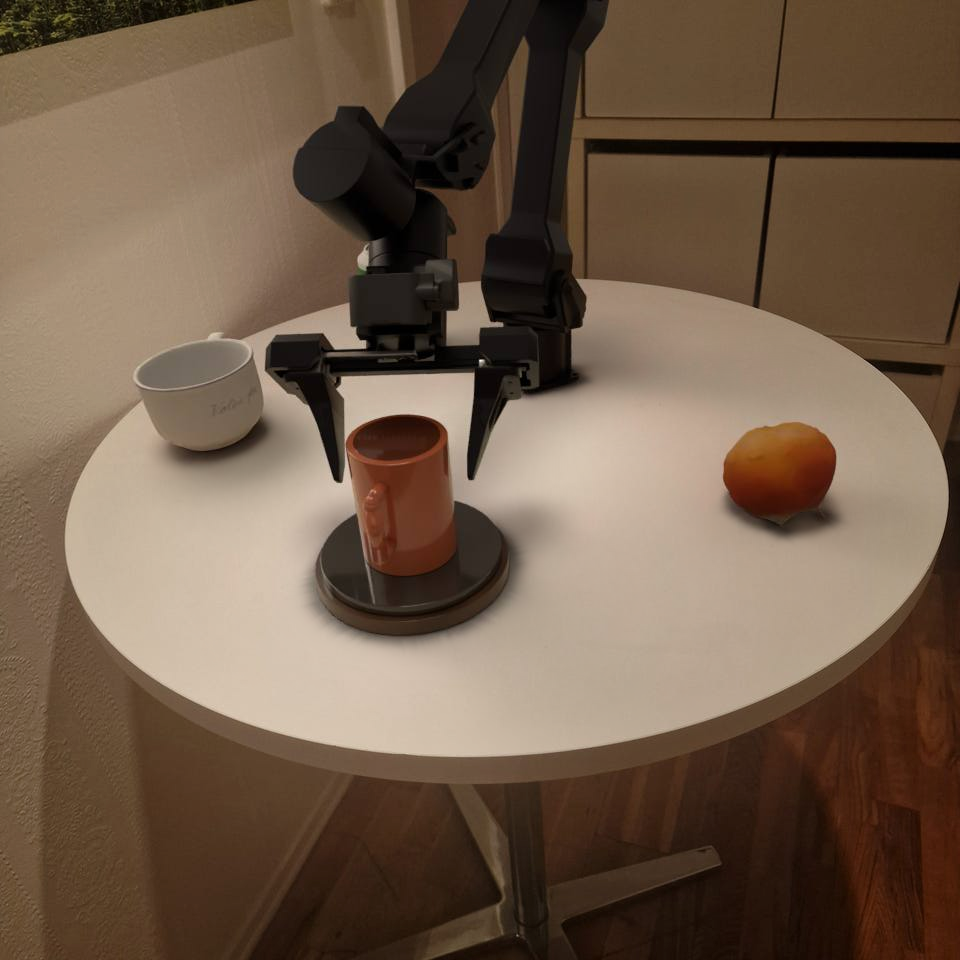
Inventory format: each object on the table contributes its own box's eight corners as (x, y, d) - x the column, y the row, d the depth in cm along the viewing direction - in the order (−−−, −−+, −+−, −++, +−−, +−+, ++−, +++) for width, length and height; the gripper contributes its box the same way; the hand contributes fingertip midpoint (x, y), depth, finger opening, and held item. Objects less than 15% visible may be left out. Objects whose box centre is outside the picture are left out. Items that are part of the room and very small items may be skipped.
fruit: (794, 543, 58) (763, 434, 58) (722, 540, 66) (695, 443, 65) (876, 508, 61) (847, 404, 61) (798, 509, 69) (773, 416, 68)
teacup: (240, 467, 75) (220, 387, 70) (132, 461, 77) (106, 382, 72) (299, 397, 86) (285, 324, 82) (203, 393, 88) (185, 322, 84)
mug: (362, 497, 67) (344, 387, 62) (519, 513, 64) (514, 399, 59) (290, 602, 57) (262, 480, 51) (474, 628, 53) (463, 501, 48)
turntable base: (463, 496, 69) (462, 484, 68) (543, 594, 58) (542, 580, 57) (297, 546, 64) (294, 533, 63) (349, 662, 53) (347, 648, 52)
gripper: (242, 218, 53) (226, 456, 50) (534, 205, 52) (538, 449, 48) (294, 293, 64) (285, 492, 61) (537, 283, 62) (541, 487, 59)
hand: (403, 480), depth 57 cm, fingers open, 9 cm apart
